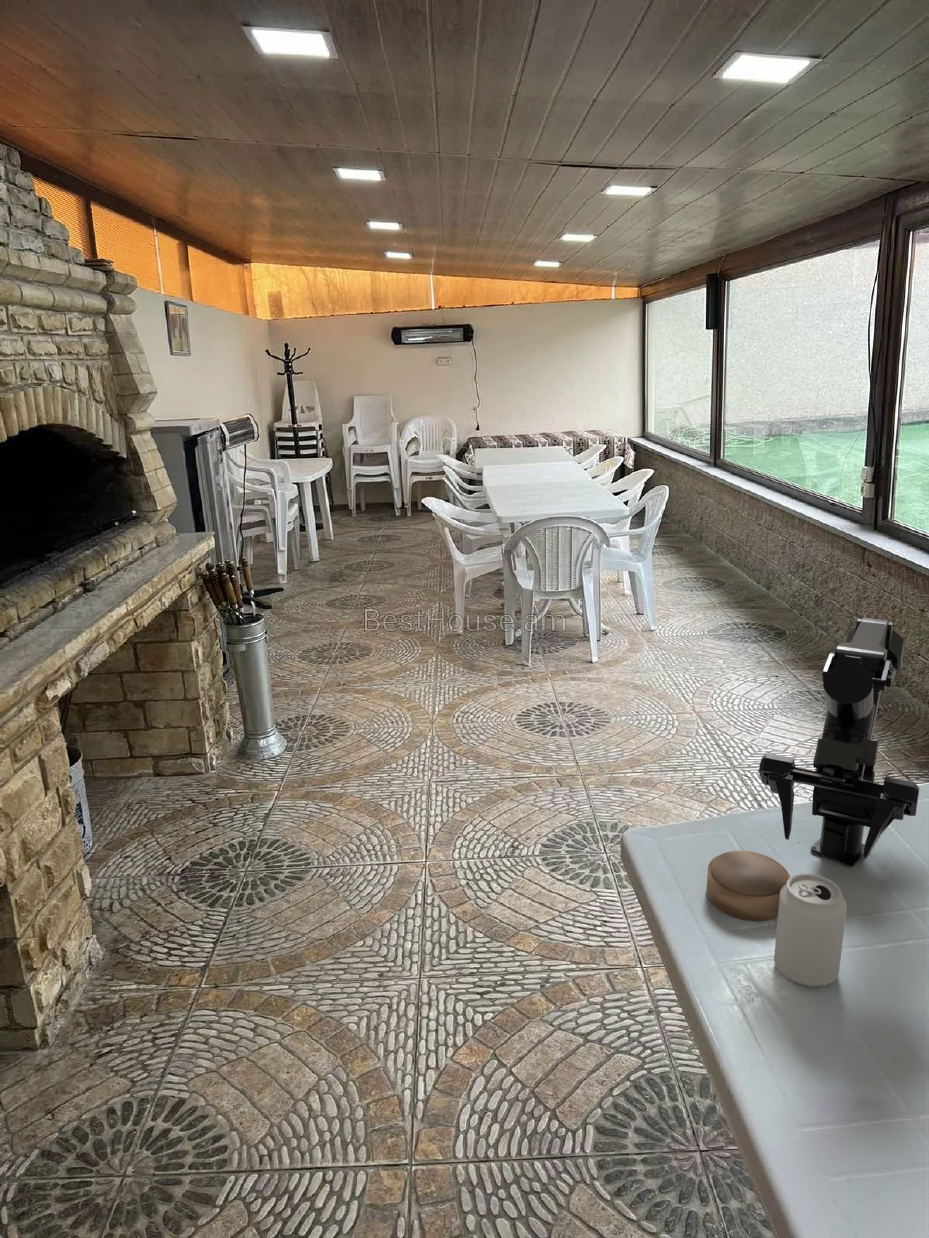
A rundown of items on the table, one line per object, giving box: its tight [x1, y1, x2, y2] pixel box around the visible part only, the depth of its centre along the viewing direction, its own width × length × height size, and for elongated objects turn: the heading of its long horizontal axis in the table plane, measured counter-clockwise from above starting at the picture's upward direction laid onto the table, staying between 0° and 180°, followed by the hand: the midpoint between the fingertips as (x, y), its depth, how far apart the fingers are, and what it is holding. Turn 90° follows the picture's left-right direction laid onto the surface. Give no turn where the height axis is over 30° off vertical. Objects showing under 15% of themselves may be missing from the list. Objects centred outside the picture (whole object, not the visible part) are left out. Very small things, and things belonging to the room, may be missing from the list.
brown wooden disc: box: [706, 850, 791, 922], centre depth 120 cm, size 11×11×4 cm
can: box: [773, 873, 848, 988], centre depth 104 cm, size 8×8×12 cm
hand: (824, 847), depth 108 cm, fingers open, 9 cm apart
